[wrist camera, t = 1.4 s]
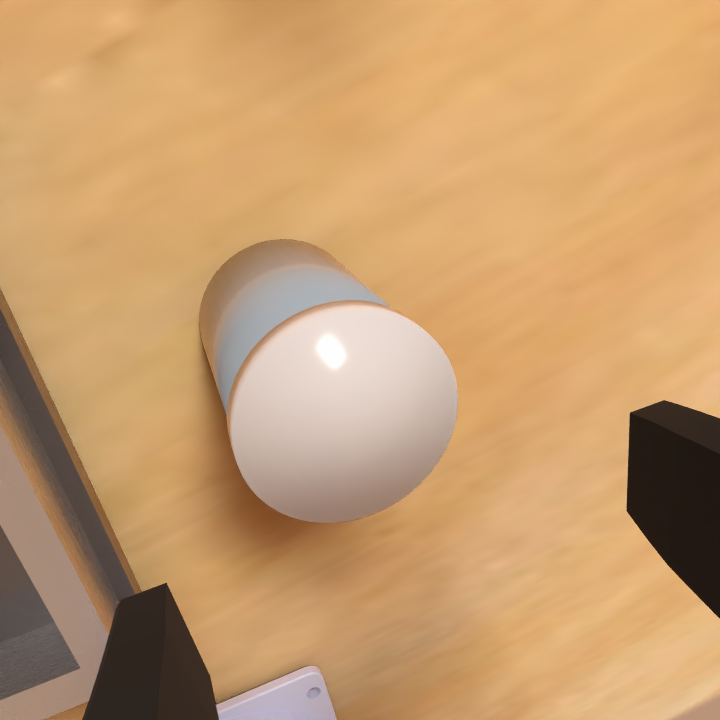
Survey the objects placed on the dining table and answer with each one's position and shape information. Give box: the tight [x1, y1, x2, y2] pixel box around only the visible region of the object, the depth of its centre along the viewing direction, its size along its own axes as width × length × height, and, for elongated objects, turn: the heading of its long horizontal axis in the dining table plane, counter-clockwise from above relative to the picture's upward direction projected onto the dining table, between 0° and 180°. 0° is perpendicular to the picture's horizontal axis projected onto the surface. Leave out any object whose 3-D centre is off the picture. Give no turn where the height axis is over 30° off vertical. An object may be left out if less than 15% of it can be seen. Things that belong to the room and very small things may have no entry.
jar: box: [199, 239, 458, 523], centre depth 17 cm, size 5×5×6 cm
